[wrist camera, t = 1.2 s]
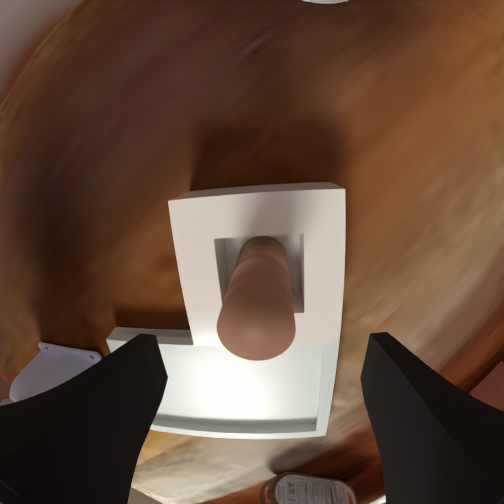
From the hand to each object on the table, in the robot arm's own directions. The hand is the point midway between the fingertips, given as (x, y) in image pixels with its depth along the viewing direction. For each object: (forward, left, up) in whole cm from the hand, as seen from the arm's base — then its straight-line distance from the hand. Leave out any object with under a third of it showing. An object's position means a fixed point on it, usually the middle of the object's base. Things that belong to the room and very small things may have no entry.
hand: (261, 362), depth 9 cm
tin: (+5, -33, -11) cm, 35 cm away
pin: (0, 0, -10) cm, 10 cm away
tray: (-4, -12, -11) cm, 17 cm away
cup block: (0, 0, -11) cm, 11 cm away
